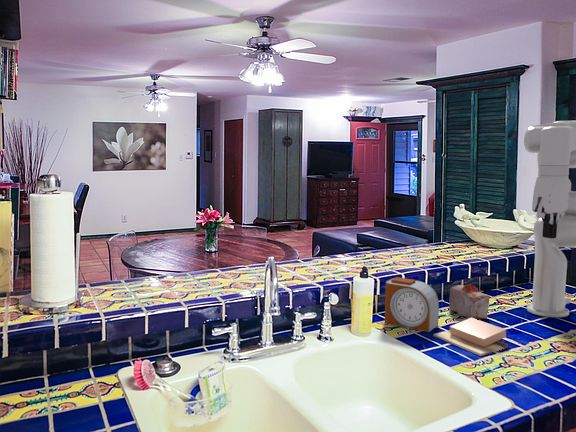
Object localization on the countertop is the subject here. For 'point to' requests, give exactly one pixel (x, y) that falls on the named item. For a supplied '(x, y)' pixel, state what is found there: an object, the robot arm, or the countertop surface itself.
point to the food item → (468, 302)
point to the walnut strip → (501, 344)
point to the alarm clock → (411, 304)
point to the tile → (478, 331)
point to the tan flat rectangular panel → (468, 344)
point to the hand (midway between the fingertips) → (549, 237)
